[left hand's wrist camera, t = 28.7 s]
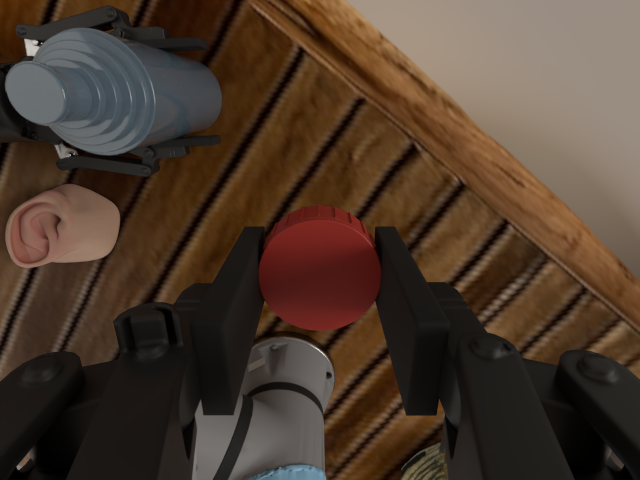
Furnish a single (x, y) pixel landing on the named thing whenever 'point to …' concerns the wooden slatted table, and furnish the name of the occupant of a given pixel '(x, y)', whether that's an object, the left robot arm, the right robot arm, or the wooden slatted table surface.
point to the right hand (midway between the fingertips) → (210, 93)
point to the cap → (319, 268)
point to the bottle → (113, 92)
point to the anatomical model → (62, 227)
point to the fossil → (426, 465)
